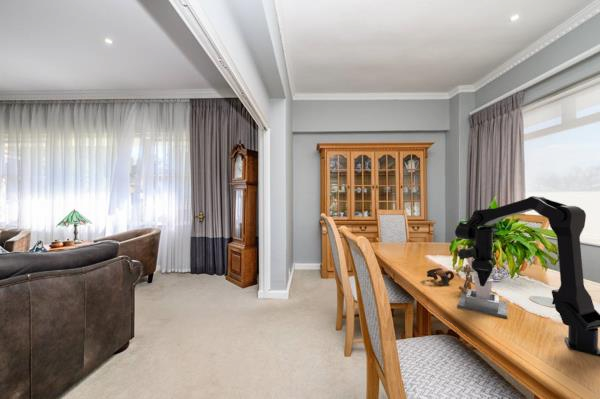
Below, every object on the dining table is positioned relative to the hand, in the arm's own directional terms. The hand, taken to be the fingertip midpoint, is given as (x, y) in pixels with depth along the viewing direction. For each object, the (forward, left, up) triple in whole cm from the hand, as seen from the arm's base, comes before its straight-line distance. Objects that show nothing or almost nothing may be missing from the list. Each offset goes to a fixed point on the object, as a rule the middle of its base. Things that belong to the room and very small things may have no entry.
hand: (482, 282), depth 103 cm
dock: (0, 0, -9) cm, 9 cm away
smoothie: (0, 0, -8) cm, 8 cm away
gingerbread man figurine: (+15, +6, -9) cm, 19 cm away
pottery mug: (+21, +18, -9) cm, 29 cm away
